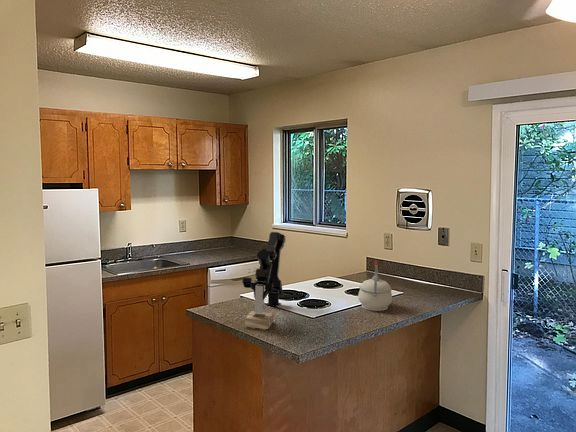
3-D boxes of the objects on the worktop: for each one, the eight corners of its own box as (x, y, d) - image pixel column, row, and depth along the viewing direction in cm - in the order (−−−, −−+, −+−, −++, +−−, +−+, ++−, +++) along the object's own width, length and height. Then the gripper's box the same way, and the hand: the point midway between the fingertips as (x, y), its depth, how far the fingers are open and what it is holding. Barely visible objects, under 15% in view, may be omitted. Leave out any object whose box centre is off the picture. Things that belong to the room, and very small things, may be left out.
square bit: (256, 310, 226) (257, 283, 224) (264, 310, 225) (264, 284, 224) (254, 312, 222) (255, 285, 221) (262, 313, 222) (262, 286, 220)
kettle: (392, 314, 245) (394, 267, 242) (356, 311, 249) (358, 265, 246) (391, 301, 269) (393, 258, 267) (359, 298, 273) (360, 256, 270)
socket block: (251, 320, 231) (251, 311, 230) (272, 322, 229) (273, 313, 228) (245, 327, 220) (245, 318, 220) (267, 329, 218) (268, 320, 218)
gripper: (243, 260, 227) (236, 289, 217) (281, 263, 224) (276, 292, 214) (247, 273, 235) (241, 300, 226) (284, 275, 232) (279, 303, 223)
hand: (259, 299), depth 222 cm, fingers closed on square bit, 4 cm apart
